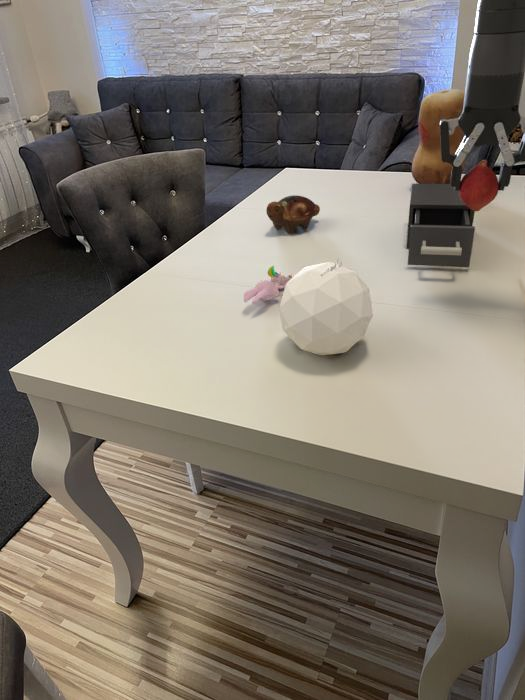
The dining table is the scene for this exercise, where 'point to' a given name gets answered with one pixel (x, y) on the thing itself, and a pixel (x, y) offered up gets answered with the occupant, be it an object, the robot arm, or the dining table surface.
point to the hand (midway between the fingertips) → (478, 188)
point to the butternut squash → (437, 136)
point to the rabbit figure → (267, 287)
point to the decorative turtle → (292, 212)
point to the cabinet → (434, 201)
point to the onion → (478, 186)
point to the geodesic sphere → (325, 308)
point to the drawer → (441, 238)
